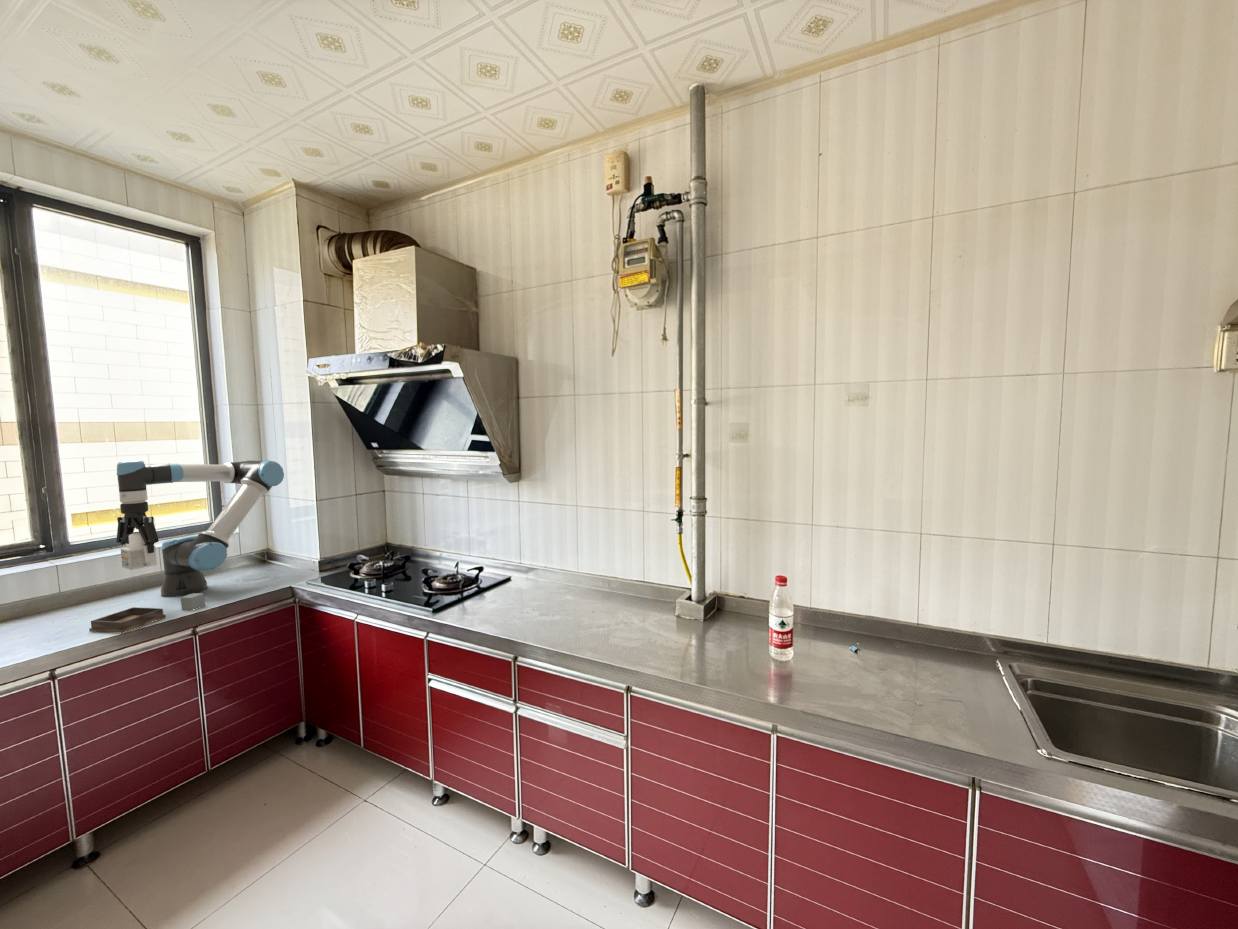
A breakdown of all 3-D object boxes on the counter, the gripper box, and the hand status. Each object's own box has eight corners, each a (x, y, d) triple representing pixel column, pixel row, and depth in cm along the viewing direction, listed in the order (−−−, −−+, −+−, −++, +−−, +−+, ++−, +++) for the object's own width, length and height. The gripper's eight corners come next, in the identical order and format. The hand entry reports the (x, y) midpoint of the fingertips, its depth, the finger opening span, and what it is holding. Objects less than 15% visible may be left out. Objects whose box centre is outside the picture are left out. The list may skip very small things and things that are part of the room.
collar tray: (134, 616, 190) (133, 606, 190) (165, 617, 188) (164, 608, 187) (89, 631, 176) (88, 621, 176) (122, 633, 174) (121, 623, 173)
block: (194, 605, 200) (193, 593, 200) (205, 606, 199) (204, 593, 199) (181, 610, 195) (180, 597, 195) (192, 610, 194) (191, 598, 194)
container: (122, 568, 191) (118, 533, 190) (148, 562, 198) (145, 529, 197) (130, 570, 187) (127, 535, 186) (157, 565, 194) (154, 531, 193)
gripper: (99, 503, 189) (104, 563, 191) (146, 503, 185) (152, 564, 187) (122, 500, 196) (127, 557, 198) (168, 500, 192) (173, 559, 194)
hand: (139, 561), depth 192 cm, fingers closed on container, 9 cm apart
